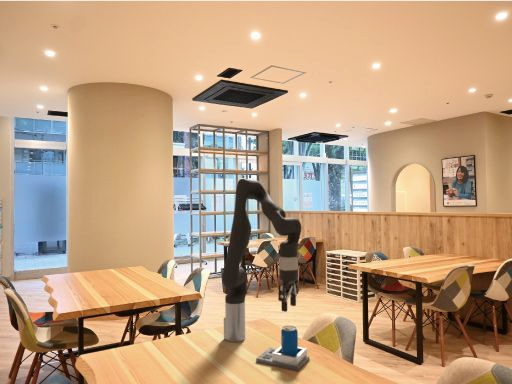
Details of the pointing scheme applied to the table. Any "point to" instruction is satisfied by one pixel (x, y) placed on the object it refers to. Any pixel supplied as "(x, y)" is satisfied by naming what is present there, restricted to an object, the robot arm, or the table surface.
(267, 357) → the grey and white device
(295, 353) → the beverage can
